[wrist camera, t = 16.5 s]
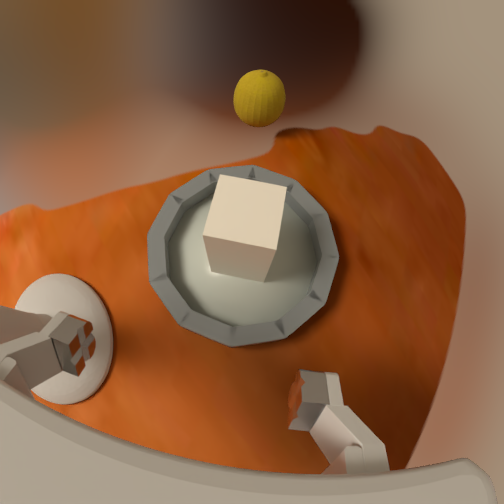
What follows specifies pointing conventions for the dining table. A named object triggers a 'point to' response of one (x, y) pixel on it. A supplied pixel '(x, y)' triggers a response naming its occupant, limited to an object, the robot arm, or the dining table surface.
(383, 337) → the dining table surface
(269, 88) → the lemon
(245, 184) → the block
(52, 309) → the candlestick
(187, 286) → the dish
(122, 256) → the dining table surface
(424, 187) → the dining table surface
